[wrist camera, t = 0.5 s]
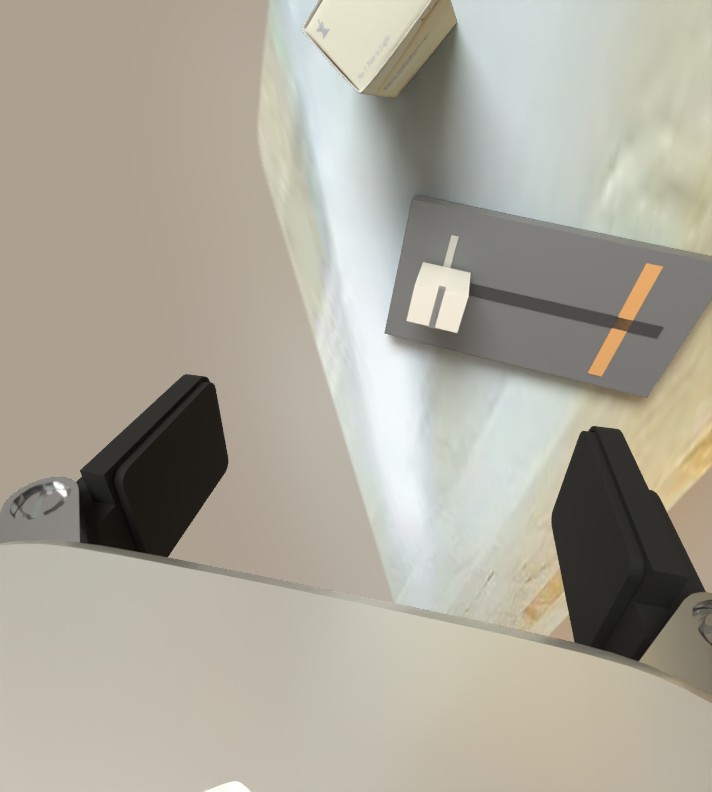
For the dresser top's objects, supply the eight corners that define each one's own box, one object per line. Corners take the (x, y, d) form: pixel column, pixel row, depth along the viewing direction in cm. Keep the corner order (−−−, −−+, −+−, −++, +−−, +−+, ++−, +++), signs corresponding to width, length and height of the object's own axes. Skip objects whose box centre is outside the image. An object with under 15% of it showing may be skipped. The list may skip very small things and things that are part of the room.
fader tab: (423, 260, 37) (415, 283, 33) (470, 271, 37) (469, 295, 33) (414, 296, 39) (406, 322, 35) (459, 307, 39) (456, 334, 35)
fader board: (415, 194, 37) (411, 199, 35) (721, 258, 34) (733, 266, 33) (388, 324, 44) (384, 333, 42) (640, 385, 41) (647, 398, 40)
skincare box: (395, 99, 34) (358, 102, 24) (352, 50, 33) (296, 32, 23) (461, 17, 30) (449, -18, 21) (416, -41, 29) (381, -108, 20)
